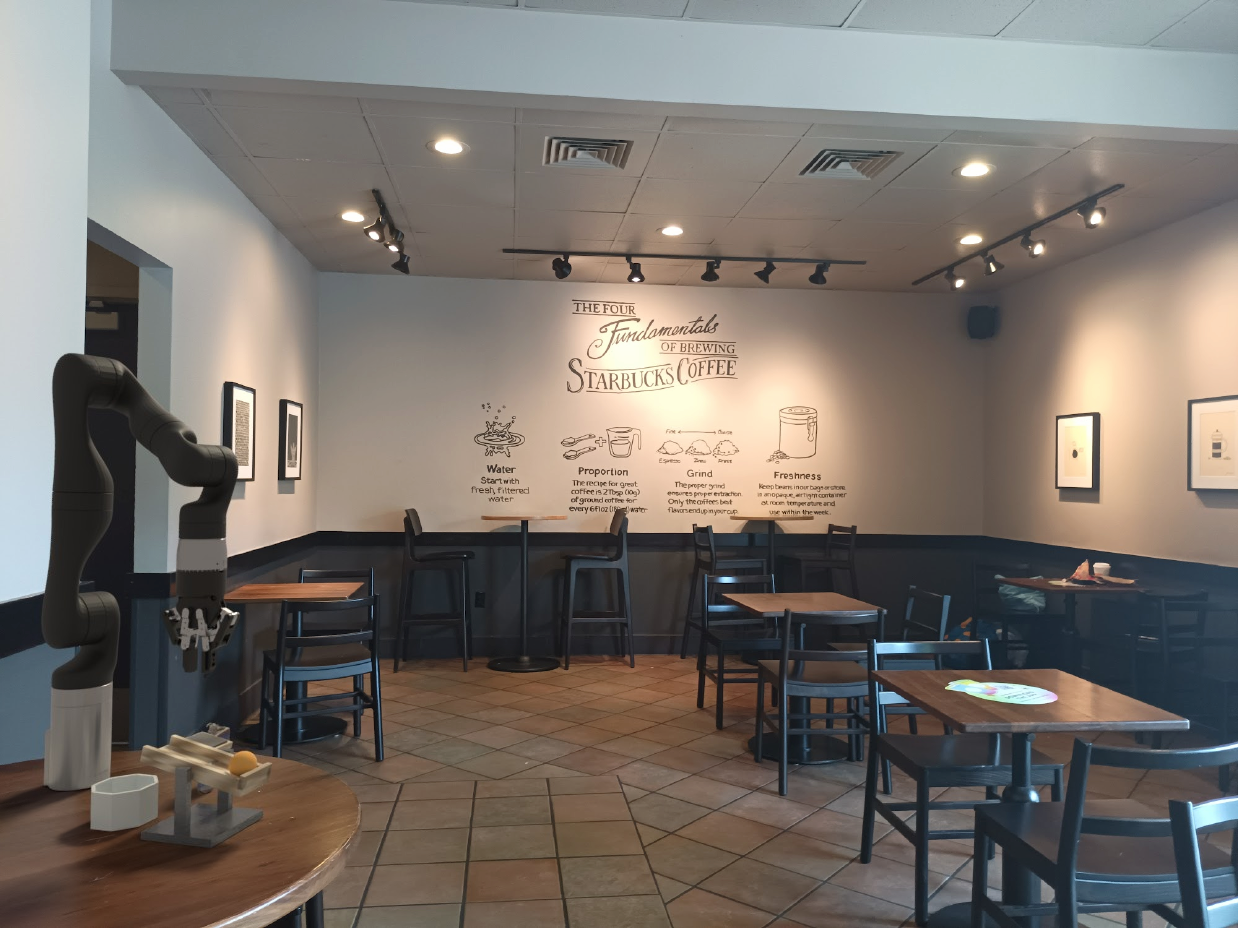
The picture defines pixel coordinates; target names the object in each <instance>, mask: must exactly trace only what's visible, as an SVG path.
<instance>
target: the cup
mask: <svg viewBox="0 0 1238 928" xmlns="http://www.w3.org/2000/svg"><path fill="white" fill-rule="evenodd" d="M159 783H160V782H159V779H158V775H153V774H144V773H132V774H126V775H119V776H110V778H108V779H106V780H103V781H101V782H98V783H96V784H93V785H91V787H90V791H91V792H90V818H89V819H90V830H97V831H98V830H99V831H105V832H115V831H121V830H127V829H132V828H133V829H134V828H137V827H141V826H143V825H145V824H147V823H149V822H151V821H153V820H155V819H157V818H159V817H158V815H159V785H160V784H159Z"/></svg>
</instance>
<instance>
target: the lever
mask: <svg viewBox="0 0 1238 928" xmlns="http://www.w3.org/2000/svg"><path fill="white" fill-rule="evenodd" d="M232 747H233V741H231V740H226V739H223V738H220V737H217V736H214V735H211V734H208V732H205V731H201V732H197V733H195V734H192V735H190V736H187V737H184V736H180V735H178V734H172V735H171V736H170V740H169V744H166V745H164V746H162V747H159V748H158V747H154V746H152V745H148V744H146V745H143V746H142V750H141V755H140V759H139V760H140V761H139V762H140V763H143V764H145V765H148V766H151V767H153V768H157V769H160V770H162V771H165V772H169V773H171V774H174V775H175V768H178V767H180V766H181V767H191V768H192V780H191V781H194V782H196V783H198V782H199V783H202V784H205V785H208V786H210V787H213V788H214V789H216V790H218V789H219V790H222V791H225V792H227V793H230V794H233V796H236V797H239V798H242V797H243V796H245V795H247V794H248V793H251V792H253V791H254V790H256V789H258V788H260V787H262V786H264V785H266V784H267V783H269V781H270V776H271V773H272V771H271V770H272V766H273V763H272V762H265V763H261V762H257V768H255V769H253V770H251V771H249V772H246V773H244V774H242V775H240V777H239V776H236V775H233V774H231V773H230V772H229V762H230V760H231V758H232V757H233V756H234V755H235V754H231V753H228V752H225V751H222V750H220V749H222V748H227V749H233V748H232Z"/></svg>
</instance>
